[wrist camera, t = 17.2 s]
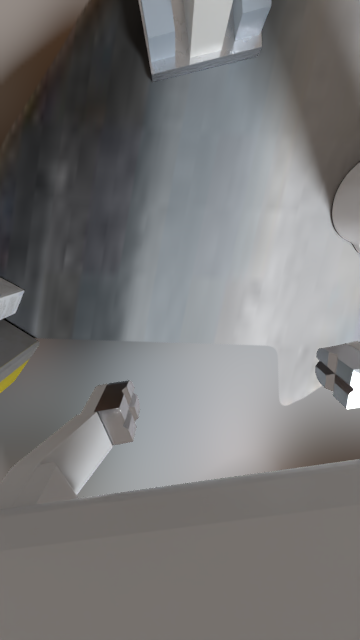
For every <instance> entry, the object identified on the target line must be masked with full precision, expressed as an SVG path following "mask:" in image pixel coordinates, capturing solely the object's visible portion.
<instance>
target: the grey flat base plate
mask: <svg viewBox="0 0 360 640" xmlns="http://www.w3.org/2000/svg"><path fill="white" fill-rule="evenodd" d="M138 1H139V7H140V13H141V19H142V24H143V30H144V36H145V41H146V47H147V53H148V58H149V64H150V70H151V75H152V81H153V82H156V81H160V80H164V79H168V78H172V77H176V76H180V75H184V74H188V73H192V72H196V71H200V70H204V69H208V68H212V67H216V66H220V65H224V64H228V63H232V62H236V61H240V60H244V59H248V58H252V57H256V56H258V54H259V52H260V50H261V48H262V30H261V33H260V34H259V35H255V36H251V37H247V38H243V39H240V40H236V41H235V37H234V20H233V3H232V7H231V11H230V15H229V20H228V24H227V28H226V32H225V37H224V41H223V45H222V49H221V50H219V51H215V52H211V53H207V54H203V55H199V56H195V57H191V58H190V54H189V45H188V37H187V28H186V20H185V11H184V3H183V0H171V5H172V12H173V19H174V27H175V56H173V57H169V58H165V59H161V60H158V61H154V62H151V58H150V52H149V46H148V41H147V35H146V29H145V23H144V18H143V12H142V6H141V0H138Z"/></svg>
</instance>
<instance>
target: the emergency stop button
mask: <svg viewBox="0 0 360 640" xmlns="http://www.w3.org/2000/svg"><path fill="white" fill-rule="evenodd" d="M38 346H39V341H38V340H36V339H34V338H33V337H31V336H29V335H28V334H26V333H24V332H23V331H21V330H20V329H18V328H16V327H15V326H13V325H11V324H10V323H8V322H7V321H5V320H3V319H1V320H0V393H1V392H2V391H3V390H4V389H5V388H7V387H8V386H9V385H10V384H11V383H13V382H14V381H15V379H16V378H17V376H18V375H19V374H20V372H21V371H22V369H23V368H24V366H25V365H26V363H27V362H28V361H29V359H30V358H31V356H32V355H33V353H34V352H35V350H36V349H37V348H38Z"/></svg>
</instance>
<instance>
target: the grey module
mask: <svg viewBox="0 0 360 640" xmlns="http://www.w3.org/2000/svg"><path fill="white" fill-rule="evenodd" d="M183 3H184V11H185V20H186V28H187V37H188V45H189V54H190V58H191V57H195V56H199V55H203V54H207V53H211V52H215V51H219V50H221V49H222V45H223V41H224V37H225V32H226V28H227V24H228V20H229V15H230V11H231V7H232V3H233V0H183Z"/></svg>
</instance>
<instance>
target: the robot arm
mask: <svg viewBox="0 0 360 640" xmlns="http://www.w3.org/2000/svg"><path fill="white" fill-rule="evenodd" d="M332 218H333V223H334V226H335V229H336V231H337V232H338V234H339V235H340V236H341V237H342V238H344V239H345V240H347V241H349V242H351V243H352V244H353V245H354V247H355V248H356V250H357V251H358V253H360V162H359V163H358V164H357V165H356V166H355V167H354V168H353V169H352V170H351V171H350V172H349V173H348V174H347V175H346V177H345V178H344V180H343V181H342V183H341V184H340V186H339V188H338V190H337V193H336V195H335V199H334V202H333V209H332ZM316 357H317V358H318V360H319V362H318V363H317V365H316V369H315V373H316V376H317V379H318V380H319V382H320V383H321V384H322V385H323V386H324V387H325V388H326V389H329V390H331V391H333V396H334V397H335V398H336V399H337V400H338V401H339V402H340V403H341V404H342V405H343V406H344V407H345V408H346V409H350V408H358V407H360V342H358V341H355V342H350V343H345V344H342V345H336V346H331V347H325V348H319V349H318V351H317V356H316ZM133 391H134V386H133V383H132V381H123V382H116V383H110V384H103V385H98V386H97V387H95V389H94V391H93V392H92V394H91V396H90V398H89V400H88V401H87V403H86V405H85V407H84V409H83V410H82V412H81V414H80V415H76V416H75V417H74V418H72V419H71V420H70V421H69V422H67V423H66V424H65V425H64V426H62V427H61V428H60V429H59V430H58V431H56V432H55V433H54V434H52V435H51V436H50V437H49V438H48V439H46V440H45V441H44V442H43V443H41V444H40V445H39V446H38V447H36V448H35V449H34V450H33V451H31V452H30V453H29V454H28V455H26V456H25V457H24V458H23V459H21V460H20V461H19V462H18V463H16V464H15V465H14V466H13V467H12V468H11V469H10V470H9V472H8V473H7V475H6V476H5V477H4V479H3V480H2V482H1V483H0V640H360V459H357V460H350V461H343V462H336V463H329V464H322V465H315V466H307V467H300V468H293V469H286V470H279V471H271V472H264V473H258V474H250V475H243V476H235V477H228V478H221V479H214V480H207V481H199V482H192V483H185V484H178V485H171V486H164V487H156V488H149V489H142V490H135V491H128V492H121V493H114V494H107V495H99V496H92V497H85V498H78V496H77V494H78V493H79V491H80V490H81V488H82V487H83V486H84V485H85V483H86V482H87V481H88V479H89V478H90V477H91V475H92V474H93V473H94V471H95V470H96V468H97V467H98V466H99V464H100V463H101V462H102V460H103V459H104V458H105V456H106V455H107V454H108V452H109V451H110V450H111V448H112V447H113V446H112V445H118V444H123V443H128V442H133V440H134V435H135V431H136V424H135V421H136V419H138V417H139V409H140V406H139V399H138V397H137V395H136V394H134V393H133Z"/></svg>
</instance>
